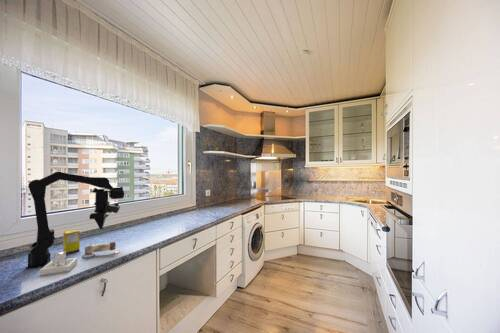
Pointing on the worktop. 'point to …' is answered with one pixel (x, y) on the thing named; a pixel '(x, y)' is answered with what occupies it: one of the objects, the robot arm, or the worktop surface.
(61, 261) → the stop plug
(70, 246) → the supplement box
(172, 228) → the worktop surface
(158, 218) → the worktop surface
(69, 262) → the tray
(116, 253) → the crank base
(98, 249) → the crank arm
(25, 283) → the worktop surface
